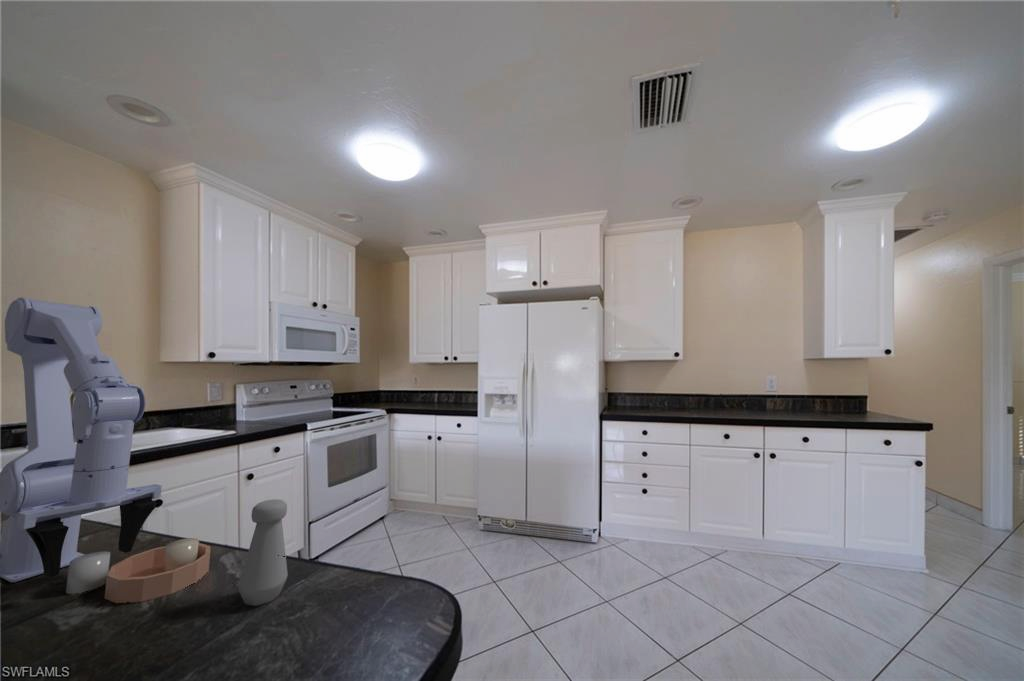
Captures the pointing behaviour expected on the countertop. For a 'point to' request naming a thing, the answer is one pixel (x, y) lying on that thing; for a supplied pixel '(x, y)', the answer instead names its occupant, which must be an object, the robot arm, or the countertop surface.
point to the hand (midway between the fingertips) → (90, 562)
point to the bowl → (152, 576)
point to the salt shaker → (265, 555)
